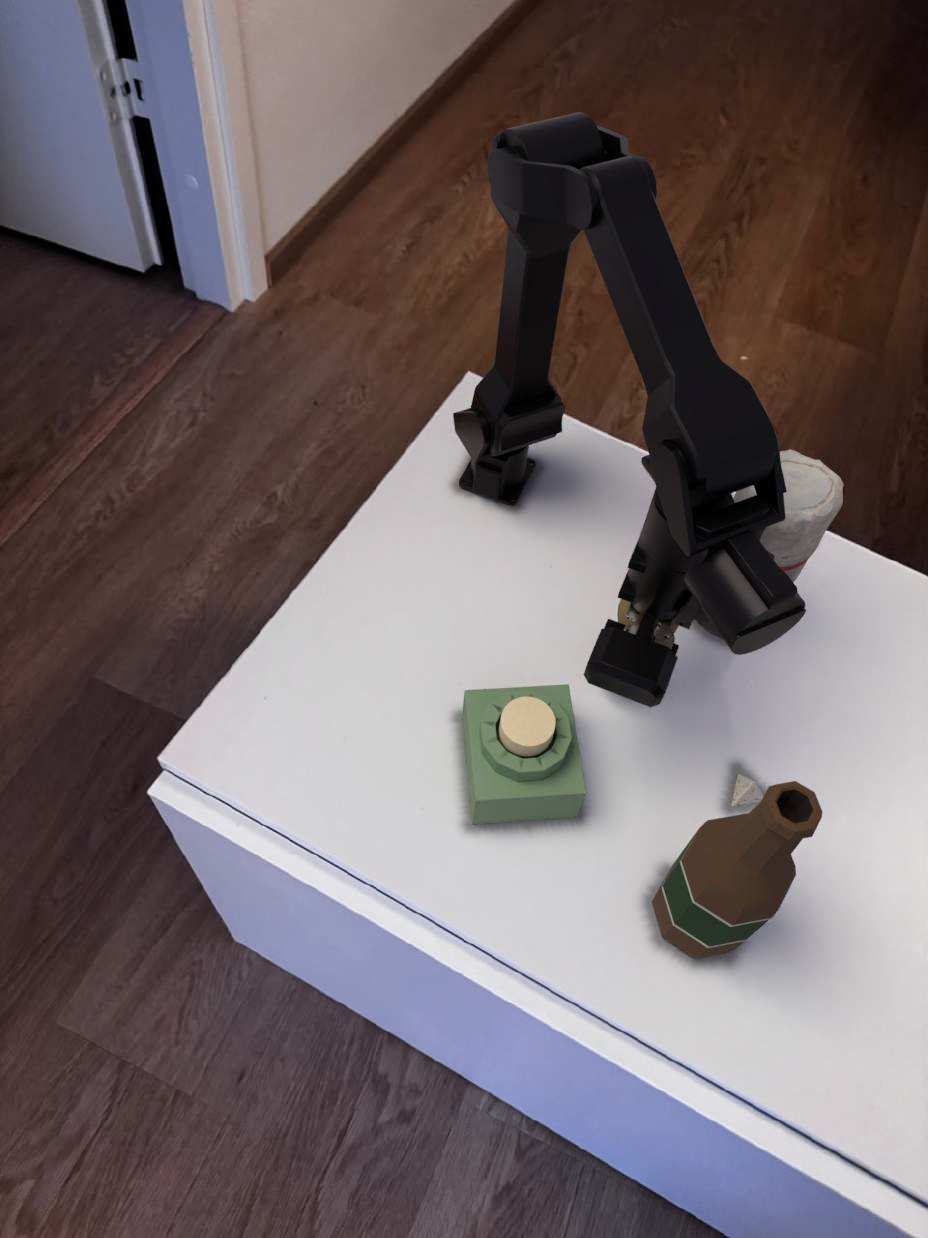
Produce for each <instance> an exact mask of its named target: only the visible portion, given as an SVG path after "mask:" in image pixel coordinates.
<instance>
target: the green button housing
mask: <svg viewBox="0 0 928 1238" xmlns="http://www.w3.org/2000/svg"><path fill="white" fill-rule="evenodd" d="M519 697H534V698H537V699H540V700H542V701H543V702H545V703H546V704H547V705H548V706H549V707H550V708H551V709H552V711H553V713H554V716H555V719H556V726H555V731H554V734H553V738H552V741H551V743H550V745H549V746H548V748H547V749H546V750H545V751H543V752H542V753H540V754H538V755H535V756H529V757H525V756H519V755H516V754H514V753H512V752H511V751H509V750H508V749H507V748H506V747H505V746H504V745H503V743H502V741H501V739H500V736H499V725H500V719H501V714H502V712H503V709H504V708H505V706H506V705H507V704H508V703H509V702H511V701H512V700H514V699H516V698H519ZM461 713H462V714H461V725H462V734H463V745H464V746H463V747H464V755H465V756H464V757H465V765H466V766H465V767H466V776H467V788H468V797H469V808H470V817H471V818H470V819H471V825H488V824H490V825H491V824H502V823H503V824H504V823H516V822H517V823H518V822H531V821H546V820H561V819H575V818H577V817H578V816H579V813H580V810H581V808H582V805H583V802H584V800H585V798H586V795H587V789H586V782H585V776H584V770H583V764H582V758H581V757H582V756H581V751H580V745H579V740H578V733H577V727H576V719H575V715H574V709H573V703H572V696H571V690H570V685H569V684H550V685H533V686H515V687H514V686H513V687H497V688H482V689H481V688H480V689H479V688H478V689H465V690H464V693H463V704H462V712H461Z"/></svg>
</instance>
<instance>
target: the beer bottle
mask: <svg viewBox="0 0 928 1238" xmlns="http://www.w3.org/2000/svg"><path fill="white" fill-rule="evenodd" d="M763 795H764V796H763V798H762V800H761V801H760V802H758V804H757V805H756V806H755V807H754V808H752V809H751V811H749V812H748V813H742V814H736V815H729V816H724V817H719V818H712V819H707V820H706V821H705V822H704V823H703V824H702V825H701V826H699V828H698V830H696V831H695V833H694V834H693V836H692V838H691V839H690V840H689V842H688V843H687V844H686V845H685V847H684V849H682V851H681V853H680V854H679V855H678V856H677V858H676V860H675V861H674V862H673V864H672V865H671V866H670V868H669V870H668V872H667V874H666V875H665V877H664V879H663V881H662V882H661V884H660V887H659V888H658V890H657V891H656V893H655V895H654V897H653V898H652V900H651V904H652V908H653V911H654V915H655V918H656V923H657V925H658V928H659V929H658V930H659V933H660V935H661V938H662V939H663V940H664V941H666V942H667V943H669V944H671V945H672V946H674V947H675V948H676V949H678V950H680V951H681V952H683V953H684V954H686V955H688V957H690V958H691V959H694V960H698V959H703V958H708V957H715V956H719V955H723V954H728V953H731V952H733V951H734V950H736V949H737V948H739V947H741V945H742V944H743V943H745V942H746V941H747V940H748V939H749V938H750V937H751V936H753V935H754V934H755V933H756V932H758V930H760V929H761V928H762V927H763V926H765V925H766V924H767V923H768V922H769V921H770V920H772V919H773V917H775V915H776V913H777V912H778V911H779V910H780V908H781V906H782V904H783V902H784V901H785V898H786V896H787V895H788V893H789V891H790V888H791V886H792V884H793V882H794V880H795V878H796V876H797V869H796V867H797V866H796V863H795V861H794V859H793V855H792V854H793V853H794V851H795V850H796V849H797V847H798V846H799V845H800V843H801V842H802V841H803V840H804V839H809V838H812V837H813V836H814V834H815V832H816V830H817V828H818V826H819V824H820V822H821V820H822V817H823V810H822V807H821V804H820V802H819V800H818V797H817V794H816V792H815V791H813V790H811V789H810V788H808V787H807V786H805V785H803V784H801V783H800V782H798V781H797V780H792V781H788V782H787V781H786V782H781V783H776V784H772V785H769V786H768V787H767V789H766V791H765V793H764V794H763Z"/></svg>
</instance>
